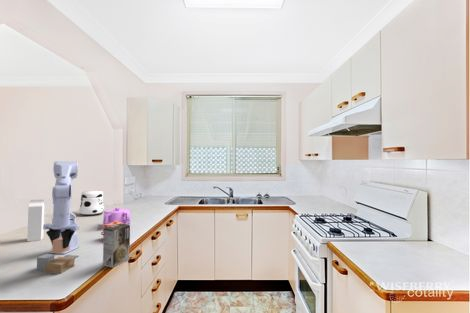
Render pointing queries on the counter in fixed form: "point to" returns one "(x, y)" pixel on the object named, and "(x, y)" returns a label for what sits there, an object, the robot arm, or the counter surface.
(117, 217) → the teakettle
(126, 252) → the coffee box
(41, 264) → the grey block
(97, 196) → the milk container
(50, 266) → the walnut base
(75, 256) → the tile
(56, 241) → the terracotta block
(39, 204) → the milk
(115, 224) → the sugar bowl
